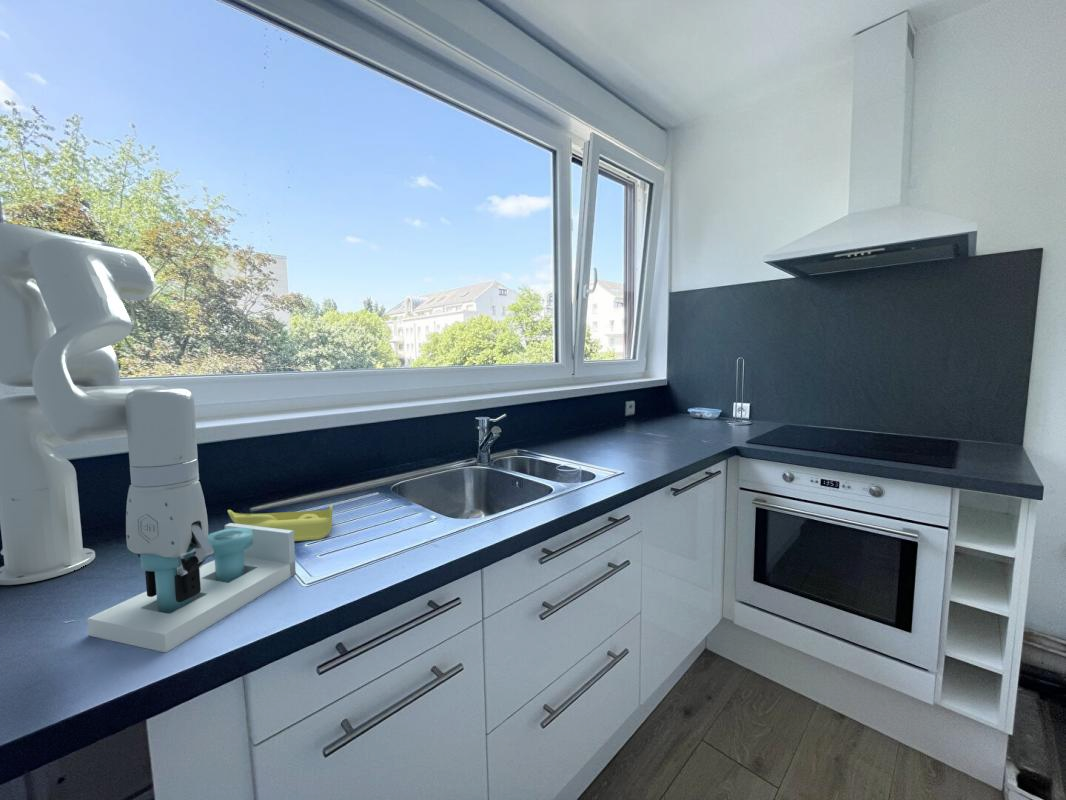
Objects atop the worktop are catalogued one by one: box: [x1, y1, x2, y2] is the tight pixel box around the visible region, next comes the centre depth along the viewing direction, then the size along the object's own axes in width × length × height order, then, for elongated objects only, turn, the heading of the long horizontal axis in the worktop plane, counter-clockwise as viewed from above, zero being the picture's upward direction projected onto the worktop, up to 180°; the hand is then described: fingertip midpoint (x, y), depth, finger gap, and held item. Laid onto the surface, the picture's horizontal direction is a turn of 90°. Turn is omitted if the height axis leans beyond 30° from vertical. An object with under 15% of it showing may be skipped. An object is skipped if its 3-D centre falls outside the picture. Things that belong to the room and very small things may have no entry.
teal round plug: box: [139, 546, 195, 614], centre depth 65 cm, size 7×7×9 cm
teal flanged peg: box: [208, 527, 253, 583], centre depth 74 cm, size 7×7×9 cm
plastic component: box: [227, 504, 334, 542], centre depth 96 cm, size 20×7×10 cm
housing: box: [86, 522, 297, 654], centre depth 70 cm, size 14×22×8 cm, turn 166°
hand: (174, 593), depth 65 cm, fingers closed on teal round plug, 4 cm apart
